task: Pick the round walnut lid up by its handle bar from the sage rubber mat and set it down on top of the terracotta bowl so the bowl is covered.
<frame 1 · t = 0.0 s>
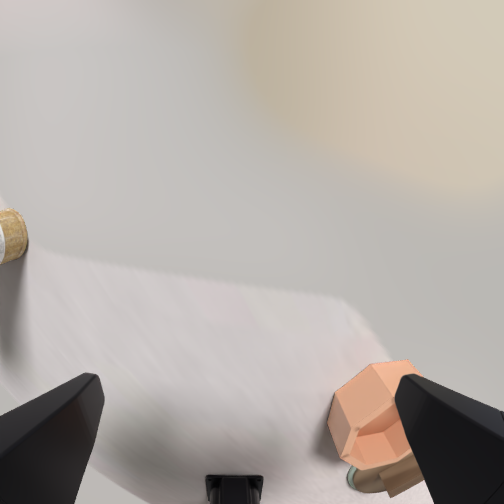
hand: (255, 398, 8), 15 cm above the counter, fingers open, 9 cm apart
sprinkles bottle: (13, 232, 20), on the counter
terracotta bowl: (376, 402, 26), on the counter
walnut lid: (399, 461, 29), resting on sage mat
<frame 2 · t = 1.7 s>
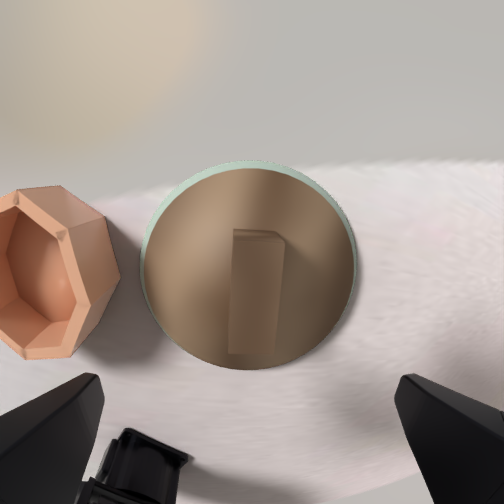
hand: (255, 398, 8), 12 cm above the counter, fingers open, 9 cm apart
sage mat: (249, 273, 20), on the counter
terracotta bowl: (55, 261, 19), on the counter
walnut lid: (250, 275, 19), resting on sage mat
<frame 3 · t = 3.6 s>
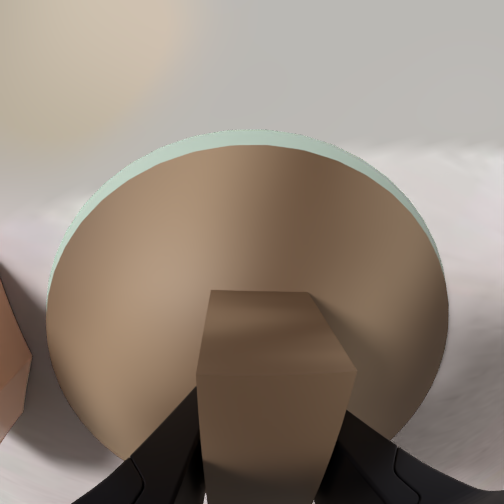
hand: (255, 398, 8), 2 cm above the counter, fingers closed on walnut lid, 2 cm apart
sage mat: (251, 363, 10), on the counter
walnut lid: (252, 371, 9), resting on sage mat, touching gripper
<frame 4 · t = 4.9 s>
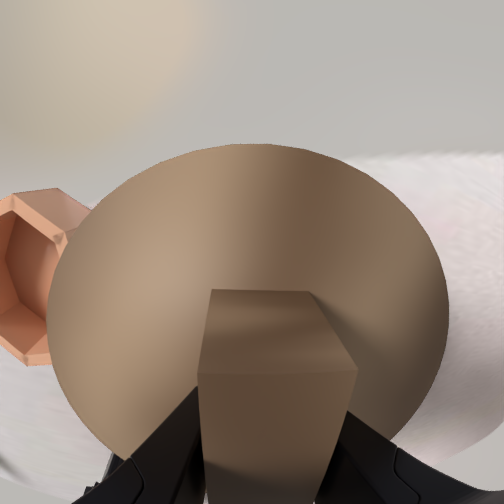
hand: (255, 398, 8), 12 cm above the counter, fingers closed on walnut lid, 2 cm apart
terracotta bowl: (54, 265, 18), on the counter
walnut lid: (252, 371, 9), point 10 cm above the counter, touching gripper
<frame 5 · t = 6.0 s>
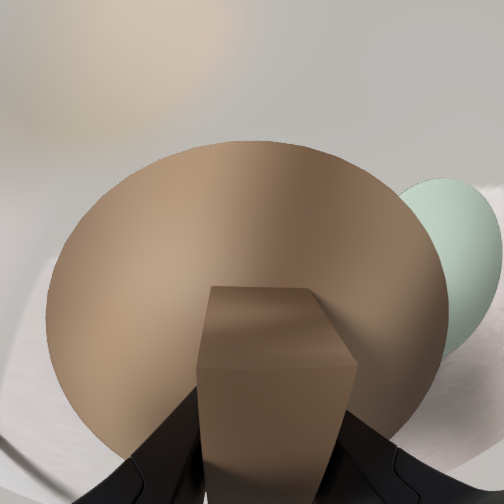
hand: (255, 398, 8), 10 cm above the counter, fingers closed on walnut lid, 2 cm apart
sage mat: (439, 278, 19), on the counter
walnut lid: (252, 368, 9), point 9 cm above the counter, touching gripper
when the fingers open (8 cm above the counter, at t = 6.6 s): walnut lid drops 1 cm, resting on terracotta bowl.
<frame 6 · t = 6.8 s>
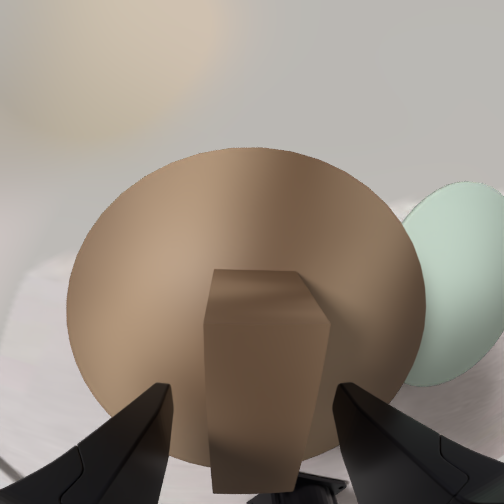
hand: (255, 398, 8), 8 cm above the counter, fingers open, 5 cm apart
sage mat: (461, 291, 16), on the counter
walnut lid: (249, 345, 10), point 5 cm above the counter, touching terracotta bowl
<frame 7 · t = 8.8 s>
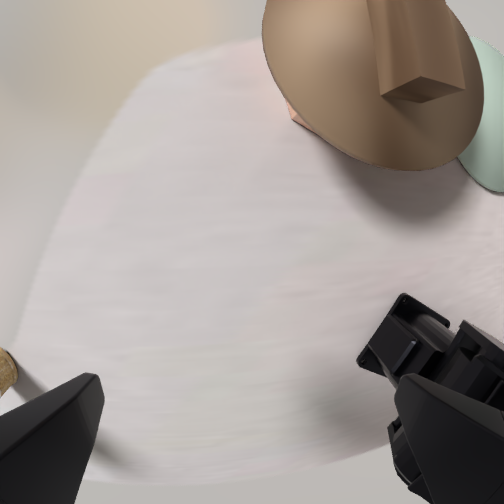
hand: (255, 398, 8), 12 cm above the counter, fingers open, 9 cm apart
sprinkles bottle: (3, 361, 20), on the counter
sage mat: (493, 111, 18), on the counter
walnut lid: (387, 50, 12), point 5 cm above the counter, touching terracotta bowl
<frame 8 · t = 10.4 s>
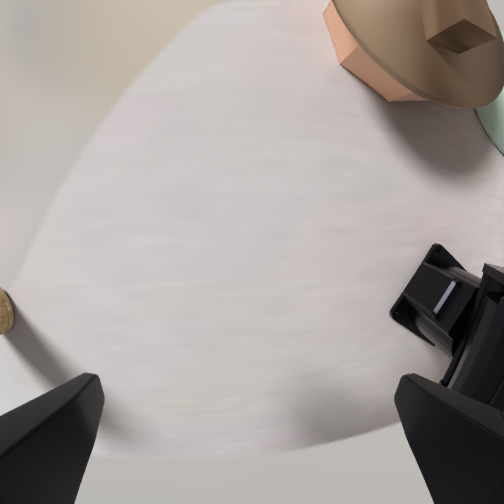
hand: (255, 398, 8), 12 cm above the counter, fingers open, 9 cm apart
terracotta bowl: (393, 39, 16), on the counter
walnut lid: (428, 12, 11), point 5 cm above the counter, touching terracotta bowl
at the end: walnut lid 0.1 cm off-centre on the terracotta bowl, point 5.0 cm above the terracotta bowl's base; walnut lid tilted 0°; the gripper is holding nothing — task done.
